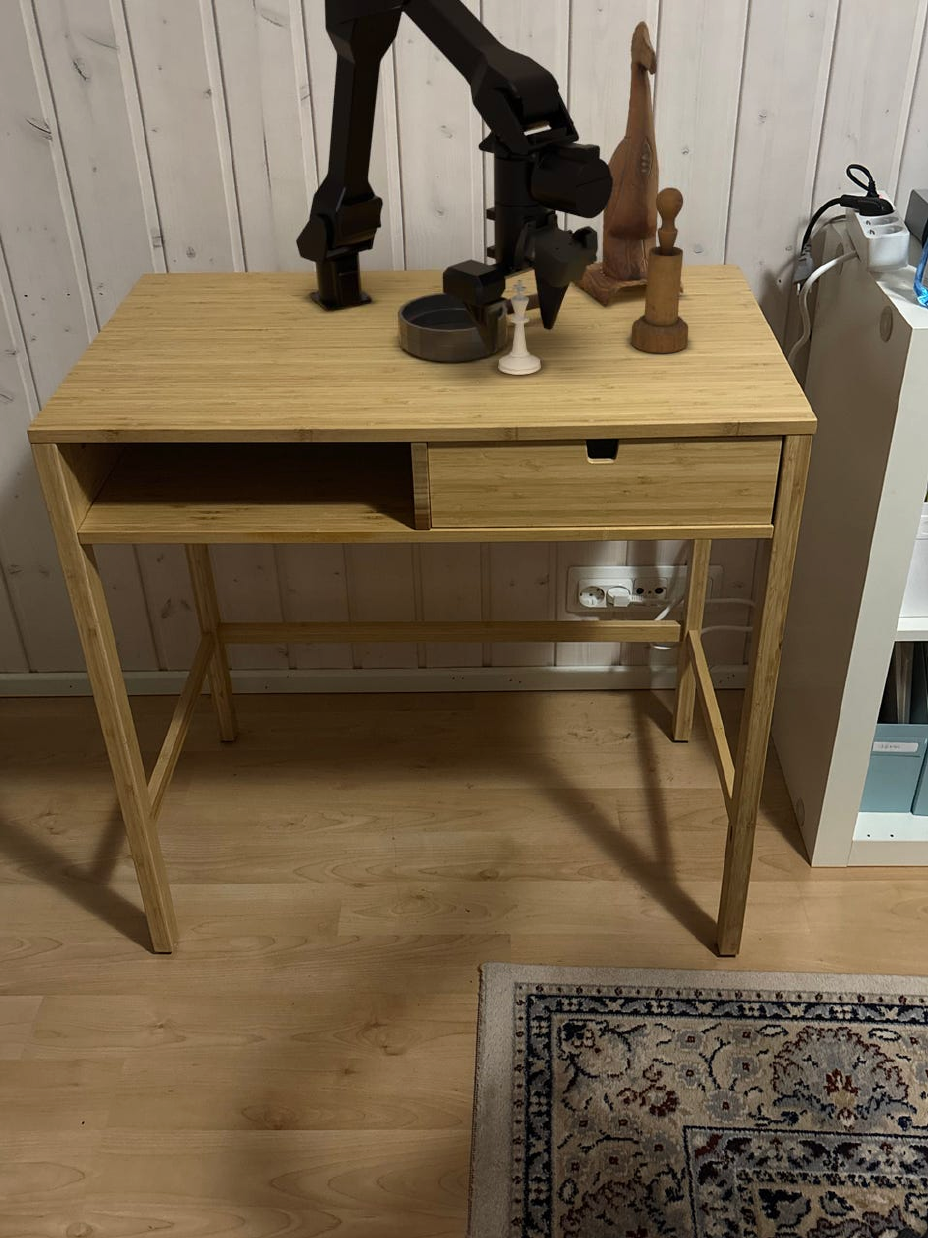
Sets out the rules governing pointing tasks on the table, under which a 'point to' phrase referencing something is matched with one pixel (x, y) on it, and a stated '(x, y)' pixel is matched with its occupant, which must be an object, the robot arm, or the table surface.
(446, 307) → the pan
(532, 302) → the pan handle
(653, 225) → the bird sculpture
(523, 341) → the chess piece
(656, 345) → the mortar and pestle
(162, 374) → the table surface
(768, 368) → the table surface
